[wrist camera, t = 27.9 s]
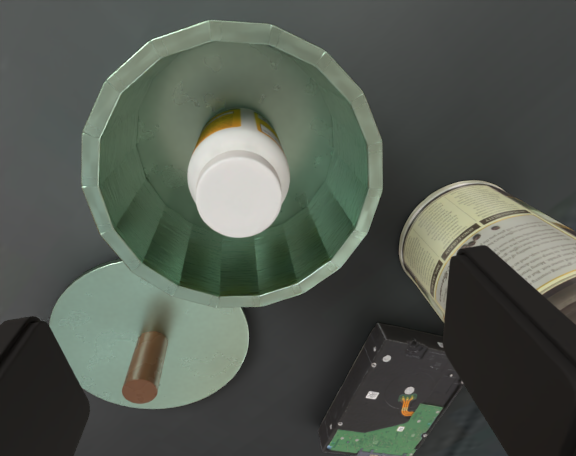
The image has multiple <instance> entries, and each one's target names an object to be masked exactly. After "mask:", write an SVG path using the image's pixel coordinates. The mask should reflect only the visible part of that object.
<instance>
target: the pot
mask: <svg viewBox="0 0 576 456" xmlns="http://www.w3.org/2000/svg"><path fill="white" fill-rule="evenodd" d="M230 108H247V109H251V110H254V111H256V112H258V113H259V114H261V115H262V116H264V117H265V118H266V119H267V120H268V121H269V122H270V123H271V125H272V126H273V128H274V129H275V131H276V133H277V135H278V138H279V141H280V143H281V146H282V148H283V151H284V153H285V156H286V159H287V162H288V165H289V171H290V184H289V189H288V193H287V195H286V198H285V200H284V201H283V203H282V205H281V209H280V212H279V214H278V216H277V217H276V219H275V220H274V222H273V223H272V224H271V225H270V226H269V227H268V228H267V229H265V230H264V231H262V232H260V233H258V234H256V235H253V236H250V237H244V238H234V237H228V236H225V235H222V234H220V233H218V232H216V231H214V230H213V229H211V228H210V227H209V226H208V225H207V224H206V223H205V222H204V221H203V219H202V218H201V216H200V214H199V212H198V209H197V206H196V203H195V201H194V200H193V198H192V196H191V193H190V190H189V186H188V180H187V173H188V166H189V162H190V159H191V156H192V154H193V151H194V149H195V146H196V144H197V141H198V138H199V136H200V133H201V131H202V129H203V127H204V126H205V124H206V123H207V122H208V121H209V120H210V119H211V118H212V117H213V116H215V115H216V114H218V113H219V112H221V111H224V110H226V109H230ZM81 186H82V190H83V192H84V195H85V197H86V200H87V203H88V205H89V208H90V211H91V213H92V216H93V219H94V221H95V224H96V226H97V229H98V232H99V233H100V236H101V237H102V238H103V239H104V240H105V241H106V243H107V244H108V245H109V246H110V247H111V248H112V250H113V251H114V252H115V253H116V254H117V255H118V257H119V258H120V259H121V260H122V261H123V262H124V264H125V265H126V266H127V267H128V268H129V269H130V271H132V273H134V274H136V275H137V276H139V277H141V278H142V279H144V280H146V281H147V282H149V283H150V284H152V285H154V286H155V287H157V288H159V289H160V290H162V291H164V292H165V293H167V294H169V295H170V296H173V297H176V298H179V299H183V300H187V301H191V302H195V303H199V304H203V305H207V306H210V307H214V308H232V307H261V306H266V305H269V304H272V303H275V302H278V301H281V300H284V299H287V298H291V297H294V296H297V295H300V294H303V293H305V292H306V291H308V290H309V289H311V288H312V287H313V286H315V285H316V284H318V283H319V282H321V281H322V280H324V279H325V278H327V277H328V276H329V275H331V274H332V273H334V272H335V271H337V270H338V269H339V268H341V267H342V265H343V264H344V263H345V262H346V260H347V259H348V258H349V256H350V255H351V254H352V253H353V251H354V250H355V249H356V247H357V246H358V245H359V244H360V242H361V241H362V240H363V239H364V237H365V236H366V235H367V233H368V231H369V228H370V225H371V222H372V220H373V217H374V214H375V211H376V208H377V205H378V203H379V200H380V197H381V194H382V191H383V142H382V138H381V135H380V133H379V130H378V128H377V125H376V122H375V120H374V117H373V115H372V112H371V110H370V107H369V104H368V102H367V99H366V97H365V94H364V93H363V91H362V89H361V88H360V87H359V86H358V85H357V84H356V83H355V82H354V81H353V80H352V79H351V77H350V76H349V75H348V74H347V73H346V72H345V71H344V70H343V69H342V68H341V67H340V65H339V64H338V63H337V62H336V61H335V60H334V59H333V58H332V57H331V56H330V54H329V53H328V52H327V51H325V50H324V49H322V48H320V47H318V46H316V45H314V44H312V43H310V42H308V41H306V40H304V39H302V38H299V37H297V36H295V35H293V34H291V33H289V32H287V31H285V30H283V29H281V28H279V27H277V26H275V25H271V24H267V23H252V22H238V21H223V20H206V21H203V22H200V23H197V24H194V25H191V26H188V27H185V28H182V29H179V30H176V31H174V32H171V33H168V34H165V35H162V36H159V37H156V38H153V39H151V40H150V41H148V42H146V43H145V44H144V45H143V46H142V47H141V48H140V49H139V50H138V51H136V52H135V53H134V54H133V55H132V56H131V57H130V58H129V59H128V60H127V61H125V62H124V63H123V64H122V65H121V66H120V67H119V68H118V69H117V70H116V71H114V72H113V73H112V74H111V75H110V76H109V77H108V78H107V79H106V81H105V82H104V84H103V86H102V88H101V90H100V92H99V95H98V97H97V99H96V101H95V104H94V106H93V108H92V110H91V113H90V115H89V117H88V119H87V122H86V124H85V126H84V128H83V133H82V155H81Z"/></svg>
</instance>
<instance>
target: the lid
mask: <svg viewBox="0 0 576 456" xmlns="http://www.w3.org/2000/svg"><path fill="white" fill-rule="evenodd" d="M49 326H50V328H51V330H52V332H53V334H54V336H55V338H56V340H57V342H58V344H59V345H60V347H61V349H62V351H63V353H64V355H65V357H66V359H67V361H68V363H69V365H70V366H71V368H72V370H73V372H74V374H75V376H76V378H77V380H78V382H79V384H80V385H81V387H82V388H83V389H84V390H86V391H88V392H89V393H91V394H93V395H95V396H97V397H99V398H101V399H104V400H106V401H109V402H112V403H115V404H118V405H123V406H127V407H133V408H141V409H164V408H172V407H178V406H182V405H187V404H190V403H193V402H196V401H199V400H201V399H203V398H205V397H207V396H209V395H211V394H213V393H214V392H216V391H218V390H219V389H220V388H222V387H223V386H224V385H225V384H227V383H228V382H229V381H230V380H231V379H232V378H233V376H234V375H235V374H236V373H237V371H238V370H239V368H240V367H241V365H242V363H243V361H244V359H245V356H246V353H247V349H248V344H249V329H248V321H247V318H246V314H245V311H244V309H243V307H232V308H214V307H210V306H207V305H203V304H199V303H195V302H191V301H187V300H183V299H179V298H176V297H173V296H170V295H169V294H167V293H165V292H164V291H162V290H160V289H159V288H157V287H155V286H154V285H152V284H150V283H149V282H147V281H146V280H144V279H142V278H141V277H139V276H137V275H136V274H134V273H132V271H130V269H129V268H128V267H127V266H126V265H125V264H124V262H123V261H122V260H121V259H116V260H112V261H109V262H106V263H103V264H100V265H98V266H96V267H94V268H92V269H90V270H88V271H86V272H85V273H83V274H82V275H80V276H79V277H78V278H76V279H75V280H74V281H73V282H72V283H71V284H70V285H69V286H68V287H67V288H66V289H65V291H64V292H63V293H62V295H61V296H60V297H59V299H58V301H57V303H56V304H55V306H54V308H53V311H52V314H51V317H50V322H49Z"/></svg>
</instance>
